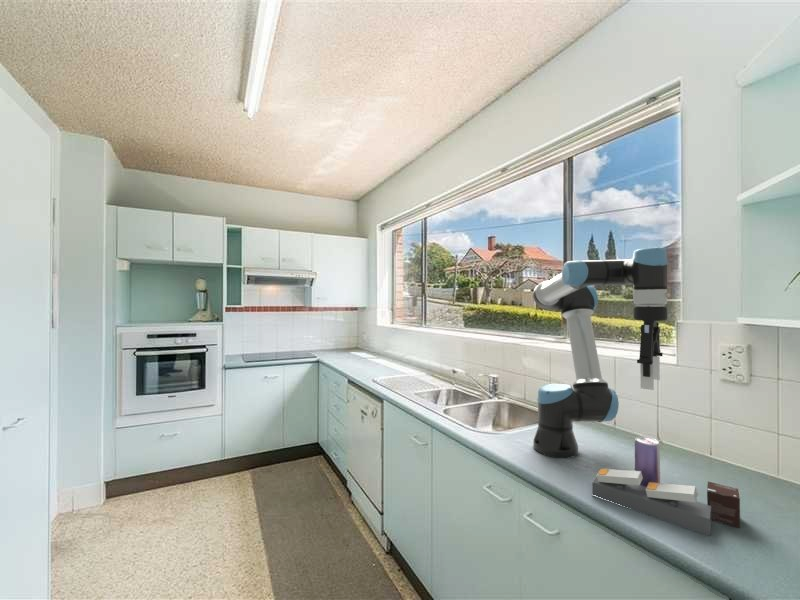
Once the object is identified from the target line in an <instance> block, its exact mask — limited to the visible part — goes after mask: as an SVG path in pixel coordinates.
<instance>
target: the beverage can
mask: <svg viewBox="0 0 800 600" xmlns="http://www.w3.org/2000/svg"><path fill="white" fill-rule="evenodd" d="M634 471H641V473H642V477H643V479H642V481H641V483H640V485H642V486H645V487H647V486H648V483H649V482H653V483H661V445H660V442H659V441H658V440H657V439H655V438H652V437H650V436H649V437H648V436H636V437H635V440H634Z"/></svg>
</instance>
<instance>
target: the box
mask: <svg viewBox="0 0 800 600" xmlns="http://www.w3.org/2000/svg"><path fill="white" fill-rule="evenodd" d="M706 487H707V489H706V490H707V491H706V500H707V503H706V505H709V506H711V521H715V522H717V523H720V524H721V523H722V524H725V525H728V526H731V527H735V528H738V529H740V528H741V497H740V493H739V488H737V487H736V488H735V487H732V486H729V485H724V484H720V483H716V482H712V481H707V486H706Z"/></svg>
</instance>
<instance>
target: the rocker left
mask: <svg viewBox="0 0 800 600" xmlns="http://www.w3.org/2000/svg"><path fill="white" fill-rule="evenodd" d="M596 477H597V478H598V482H606V483H617V484H629V485H640V483H641V481H642V479H643V477H642V473H641V471H635V470H629V469H627V470H625V469H623V470H622V469H612V468H601V469H600V470H599V471H598V472H597V474H596Z"/></svg>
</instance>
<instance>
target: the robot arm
mask: <svg viewBox="0 0 800 600" xmlns="http://www.w3.org/2000/svg"><path fill="white" fill-rule="evenodd" d="M667 255H668V254H667V250H666V249H665V248H663V247H645V248H638V249H636V250H634V251H633V254H632V258H630V259H602V260H601V259H600V260H596V259H595V260H591V259H590V260H588V259H587V260H584V259H583V260H580V259H578V260H577V259H576V260H569V261H566V262H564V263H563V266H562V268H561V273H560V274H558V275H556V276H554V277H553V278H551V279H550V280H544V281H542V282H540V283H538V284H537V285H536V286H535V288H534V290H533V292H532V297H533V301H534V302H535V304H536V305H537V306H539V308H541V309H543V310H547V311H552V312H553V311H554V312H555V311H557V312H559V311H560V312H561V317H562V318H564V319H565V320H566V323H567V330H568V336H569V341H570V349H571V353H572V355H571V356H572V360H573V366H574V373H575V381H574V382H573V383H572V386H571V385H570V384H567V383H559V382H558V383H549V384H545V385H542V386H541V387H539V389H538V390H537V394H538V395H537V418H538V419H537V421H538V422H537V425H538V426H537V429H536V432H535V435H534V438H533V448H535V449H536V450H537V451H536V450H535V449H534V450H535V451H536V452H538V453H540V454H542V455H544V454H545V456H547V455H548V457H551V458H558V459H560V458H561V459H570V458H574V457H577V456H578V454H579V445H578V442H577V439H576V436H575V434H574V427H573V426H574V425H573V423H574V422H578V423H579V422H581V423H585V422H587V423H588V422H589V423H591V422H594V423H595V422H596V423H602V422H603V423H604V422H612V421H614V419H615V418H616V417H617V415H618V413H619V403H620V402H619V397H618V395H617V392H616V391H615V389H613V388H611V387H609V384H608V382H607V381H606V380H605V379H604V378H603V376H602V371H601V367H600V361H599V356H598V350H597V345H596V339H595V332H594V329H593V323H592V315H594V313H595V310H596V309H597V308H598V304H599V302H598V301H599V297H598V295H599V294H598V293H597V290H596V288H595V286H632V285H633V290H632V299H633V300H632V301H633V302H632V303H633V304H634V305H635V306H634V307H633V319H634V320H636V321H643V324H641V326H640V328H639V329H640V331H639V332H640V343H639V344H640V345H639V358H638V359H636V362H637V364H640V365H639V366H640V367H639V368H640V389H643V390H651V391H654V390H655V389H654V388H655V387H654V384H655V383H654V380H655V381H656V380H657V381H660V380H661V378H660V376H661V375H660V372H661V371H660V370H661V369H660V368H661V367H660V359H661V358H660V357H664V356H663V352H661V349H660V348H661V347H660V346H661V345H660V343H661V342H660V338H661V337H660V336H661V335H660V332H661V327H660V322H665V321H666V320H668V307H667V306H665V305H667V304H668V297H671V294H670V292H668V264H669V262H668V258H667V257H668V256H667Z"/></svg>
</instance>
